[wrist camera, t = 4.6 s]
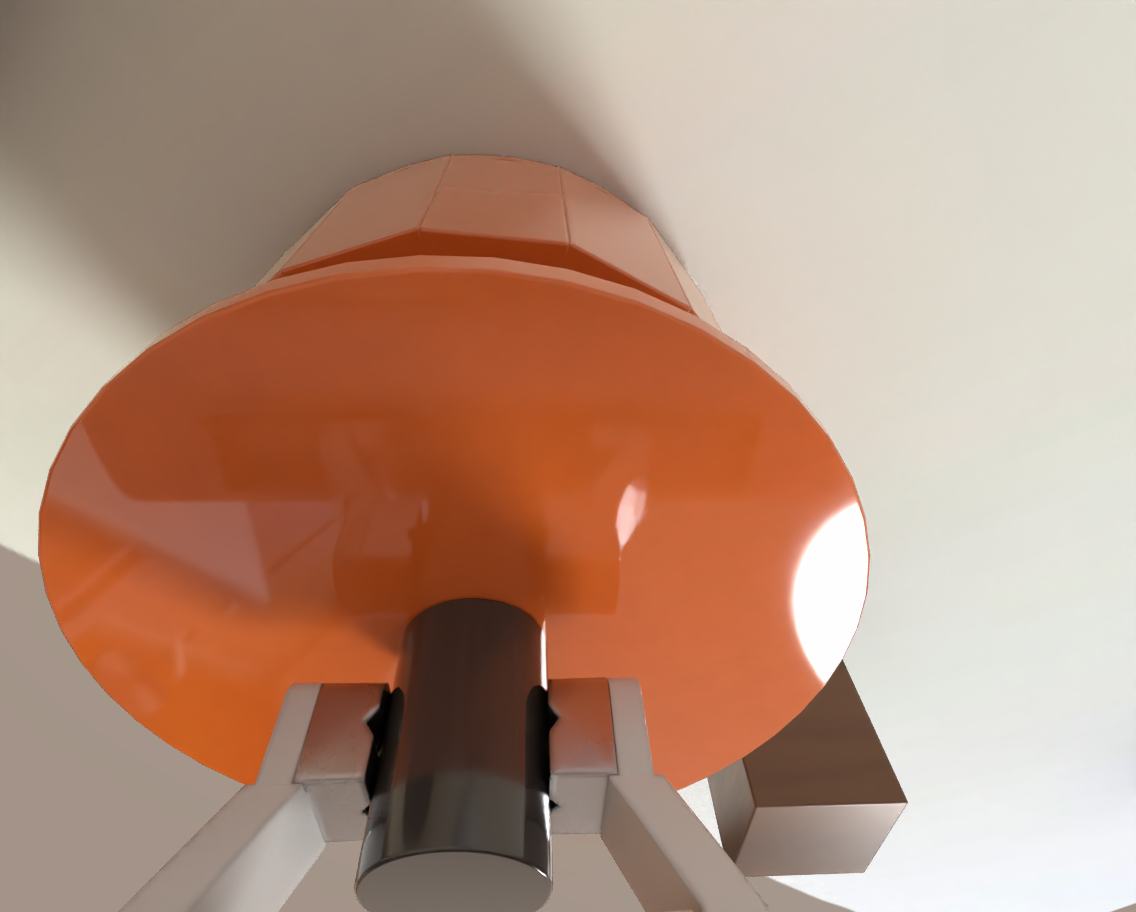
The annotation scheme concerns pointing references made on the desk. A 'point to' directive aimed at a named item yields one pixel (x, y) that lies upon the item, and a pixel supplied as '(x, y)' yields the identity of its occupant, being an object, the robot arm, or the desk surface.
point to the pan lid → (453, 542)
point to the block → (810, 792)
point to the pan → (496, 225)
